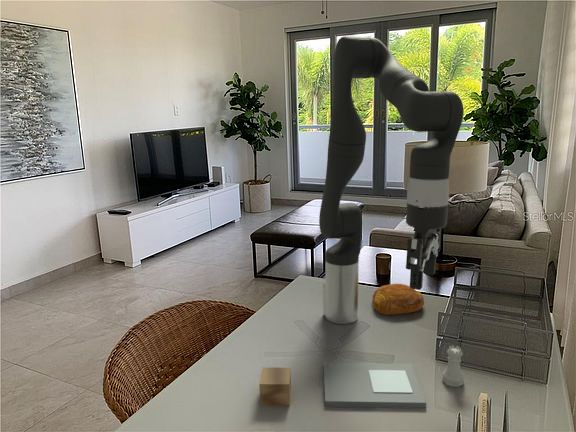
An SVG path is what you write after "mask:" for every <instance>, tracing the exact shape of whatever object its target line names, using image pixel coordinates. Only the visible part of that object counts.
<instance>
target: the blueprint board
mask: <svg viewBox="0 0 576 432" xmlns="http://www.w3.org/2000/svg"><path fill="white" fill-rule="evenodd" d="M323 383H324V384H323V387H324V406H325V407H337V408H338V407H340V408H341V407H343V408H347V407H348V408H401V409H402V408H404V409H405V408H407V409H409V408H410V409H426V408H427V402H426V401H427V400H426V398H425V396H424V393H423V390H422V389H421V385H420V383H419V380H418V377H417V374H416V373H415V370H414V368H413V365H412V363H371V362H370V363H368V362H367V363H366V362H363V363H362V362H361V363H360V362H359V363H358V362H357V363H356V362H355V363H353V362H348V363H347V362H345V363H344V362H324V363H323Z"/></svg>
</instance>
